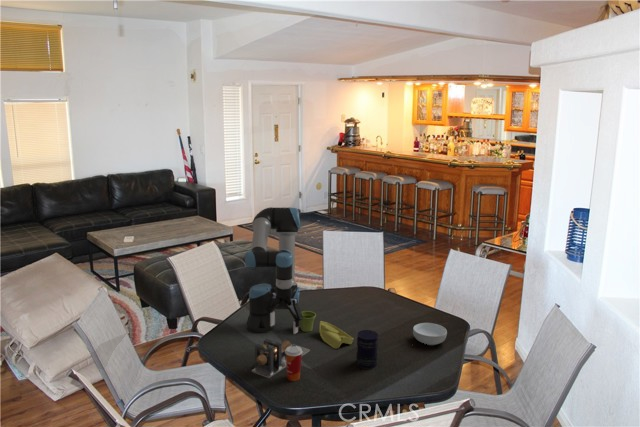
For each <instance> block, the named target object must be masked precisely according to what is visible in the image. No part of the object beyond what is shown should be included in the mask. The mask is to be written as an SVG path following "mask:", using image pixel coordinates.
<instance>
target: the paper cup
mask: <svg viewBox="0 0 640 427" xmlns="http://www.w3.org/2000/svg"><path fill="white" fill-rule="evenodd" d="M298 346H299V345H298ZM298 346H289V347H287V348H286V350H285V354H286V367H285V368H286V378H287V380H288V381H290V382H297V381H300V378H301V367H302V366H301V365H302V357H303V356H302V349H301V348H300V347H298ZM301 356H302V357H301Z"/></svg>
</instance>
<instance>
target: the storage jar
mask: <svg viewBox="0 0 640 427" xmlns="http://www.w3.org/2000/svg"><path fill="white" fill-rule="evenodd" d="M356 346H357V348H356V349H357V352H356V366H357V367H358V368H361V369H363V370H365V369H366V370H373V369H375V368H376V367H377V366H378V346H379V333H378V332H376V331H374V330H370V329H363V330H360V331H358V332H357V339H356Z"/></svg>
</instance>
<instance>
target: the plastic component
mask: <svg viewBox="0 0 640 427" xmlns="http://www.w3.org/2000/svg"><path fill="white" fill-rule="evenodd" d="M318 331H319V335H320V338H321V339H322V341H323V342H324V343H326V344H327V345H329V347H331V348H333V349H339V348H340V347H341V345H342V344H345V345H346V344H348V345H352V343H353V342H354V337H352V336H351V335H349V334H347V333H346V332H345V331H343V330H342V329H341V328H339V327H337V326H336V325H333V324H332V323H329V322H326V321H323V320H320V321H319V324H318Z"/></svg>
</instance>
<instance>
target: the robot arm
mask: <svg viewBox="0 0 640 427" xmlns="http://www.w3.org/2000/svg"><path fill="white" fill-rule="evenodd" d="M299 213H300V212H299V209H298V208H296V207H273V206H272V207H266V208H264V209H261V210H260V211H259V212H258V213H257V214H256V215H255V216H254V218H253V220H252V229H253V234H252V239H251V240H252V241H251V247H250V250H249V251H248V250H247V251H246V252H245V256H244V260H245V267H247V268H275V287H273V286H272V285H271V284H270V283H266V282H265V283H257V284H255V285H253V286H251V287H250V289H249V294H248V298H249V299H248V300H249V304H248V305H249V307H248V308H249V314H248V317H247V321H246V325H245V327H246V330H247V331H249V332H251V333H253V334H254V333H256V334H263V333H269V332H271V331H273V330H274V329H275V325H276V316H275V315H276V312H275V310H280V311H281V310H287V311H289V313H290V314H291V316H292V318H293V321H292V323H293V326H292V327H293V331H292V332H293V335H296V334H297V333H299V326H300V320H302V319H303V316H302V313H301V312H302V310H301V308H300V305H299V300H300V293H301V292H300V291H301V288H300V287H299V286H298V283H297V281H295V274H296V273H295V272H296V271H295V269H296V268H295V267H296V265H295V262H296V248H295V247H296V236H297V234H298V232H299V230H301V222H300V221H301V220H300V214H299ZM270 230H275V233H276V234H277V236H278V251H275V250H274V251H272V250H271V251H270V250H269V251H267V250H268V249H267V248H268V238H269V232H270Z"/></svg>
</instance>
